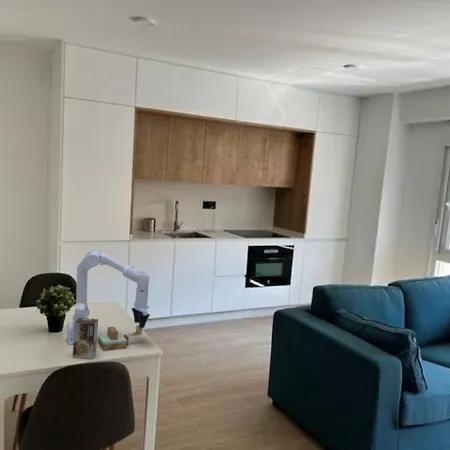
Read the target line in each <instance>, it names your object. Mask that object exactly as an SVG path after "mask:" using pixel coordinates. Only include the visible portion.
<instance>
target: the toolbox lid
mask: <svg viewBox="0 0 450 450" xmlns="http://www.w3.org/2000/svg"><path fill="white" fill-rule="evenodd" d="M98 338H99V339H100V341H101V342H102V343H103V345H105V344H115V343H124V342H127V340H126V339H125V337H124V334H122V333H121V332H119V331H118V330H117V329H116V326H108V327H107V333H105V334H97V339H98Z"/></svg>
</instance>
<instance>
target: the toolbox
mask: <svg viewBox="0 0 450 450" xmlns="http://www.w3.org/2000/svg"><path fill="white" fill-rule="evenodd" d="M123 336H124V337H125V339H126V340H127V342H124V343H115V344H105V345H103V343H102V342H101V341H100V339H99V338H98V337H97V345H99V347H100V349H101V350H102V351H112V350H116V351H117V350H124V349H127V348H128V347H127V346H129V337H130V336H129V335H127V334H123Z"/></svg>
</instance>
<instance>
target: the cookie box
mask: <svg viewBox="0 0 450 450" xmlns="http://www.w3.org/2000/svg"><path fill="white" fill-rule="evenodd" d="M98 327H99V319H98V318H88V317H87V318H78V319H77V320H76V322H75V323H74V343H73V344H72V345H73V346H72V358H76V359H78V358H79V359H89V360H90V359H91V360H93V359H94V358H95V356H96V355H97V347H98V346H97V345H98V331H99V330H98V329H99V328H98Z"/></svg>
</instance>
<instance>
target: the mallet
mask: <svg viewBox="0 0 450 450" xmlns="http://www.w3.org/2000/svg"><path fill="white" fill-rule="evenodd" d="M143 329H144V328H140V327H139V325H136V327H135V331H131V332H128V333H127V334H128V335H127V336H128V337H134V336H135V337H136V336H141V335H143Z"/></svg>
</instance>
